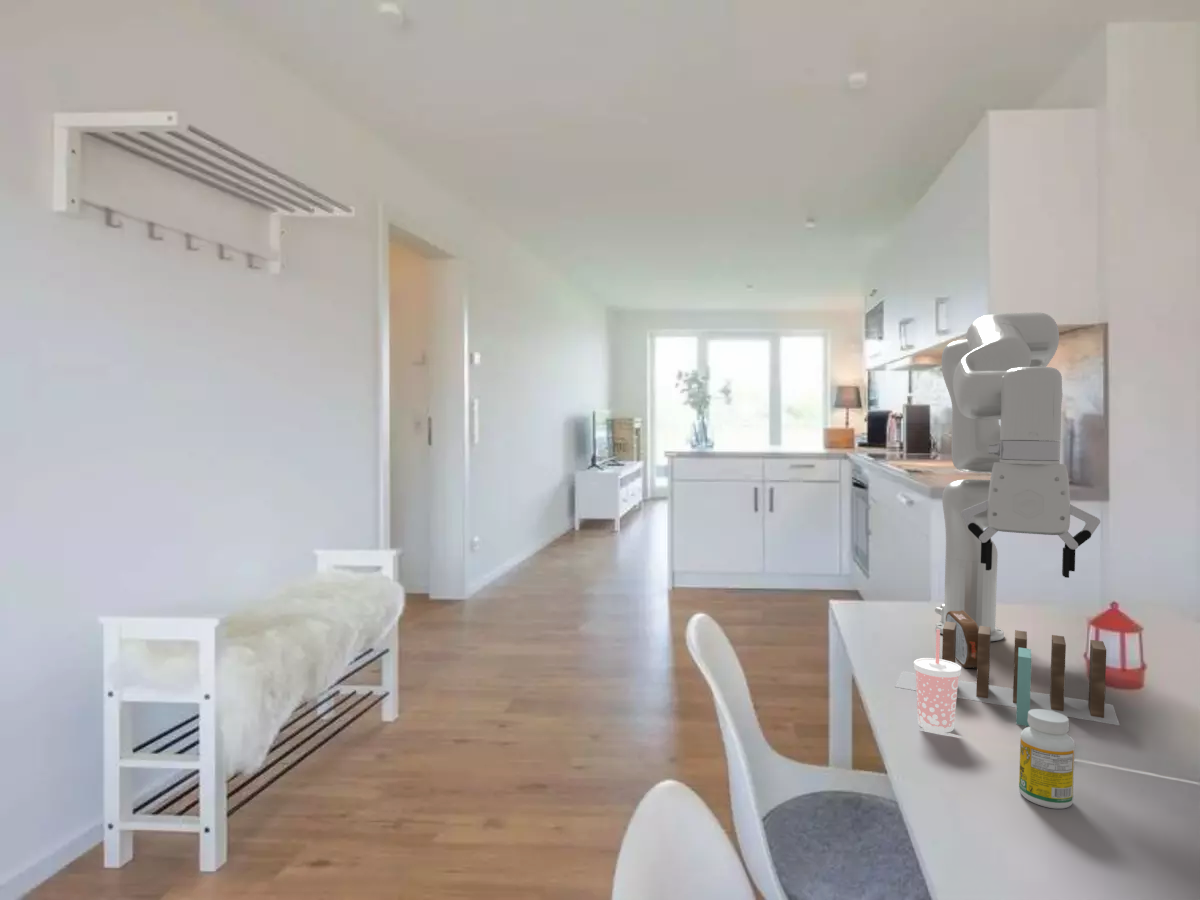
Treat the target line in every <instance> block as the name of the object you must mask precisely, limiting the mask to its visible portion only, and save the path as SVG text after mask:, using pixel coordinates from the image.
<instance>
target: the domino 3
mask: <svg viewBox="0 0 1200 900" xmlns="http://www.w3.org/2000/svg"><path fill="white" fill-rule="evenodd" d="M1018 647H1020V648H1027V647H1028V633H1027V631H1025V630H1024V631H1023V630H1017V629H1015V631H1014V651H1013V653H1014V655H1013V656H1014V657H1013V658H1014V659H1013V686H1012V687H1013V688H1012V689H1013V703H1017V679H1018ZM1027 649H1028V648H1027Z"/></svg>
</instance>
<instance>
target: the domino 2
mask: <svg viewBox="0 0 1200 900" xmlns="http://www.w3.org/2000/svg"><path fill="white" fill-rule="evenodd" d="M990 638H991V627H986V626H979V631H978V655H977V668H976V683H977V689H976V697H982V698H988V693H989V685H990V671H991V670H990V668H991V667H990V666H991V665H990V664H991V641H990Z"/></svg>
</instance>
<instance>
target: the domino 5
mask: <svg viewBox="0 0 1200 900" xmlns="http://www.w3.org/2000/svg"><path fill="white" fill-rule="evenodd" d="M1066 648H1067V644H1066V640H1065V636H1063V635H1055V634H1052V635H1051V653H1050V654H1051V656H1050V683H1049V686H1050V687H1049V695H1050V704H1051V709H1053V710H1059V711H1064V697H1065V685H1066V684H1065V680H1066V679H1065V677H1066V676H1065V675H1066V653H1067V652H1066Z"/></svg>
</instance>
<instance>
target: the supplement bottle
mask: <svg viewBox="0 0 1200 900" xmlns="http://www.w3.org/2000/svg"><path fill="white" fill-rule="evenodd" d="M1027 721H1028V724H1029V726H1027V727H1025V728H1023V729H1022V731H1021V733H1020V745H1019V747H1020V749H1019V777H1018V780H1019V781H1018V791H1019V793H1020V794H1021V795H1022V797H1023V798H1025V800H1028V801H1029V802H1031V803H1033V804H1035V805H1038V806H1041V807H1045V808H1049V809H1054V810H1055V809H1056V810H1058V809H1066V808H1070V807H1071V806H1072V805H1073V802H1074V780H1075V754H1076V745H1075V741H1074V739H1073V738H1072V737H1071V736H1070V735H1069V734H1068V731H1069V730H1070V727H1069V725H1070V724H1069V721H1070V719H1069V717H1067V716H1065V715H1063V714H1060V713H1057V712H1054V711H1050V710H1045V709H1032V710H1029V711H1028V720H1027Z"/></svg>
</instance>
